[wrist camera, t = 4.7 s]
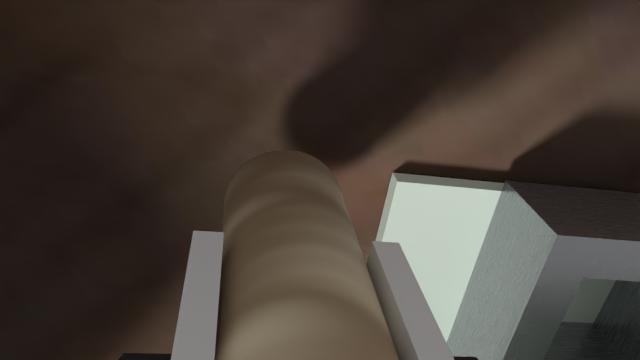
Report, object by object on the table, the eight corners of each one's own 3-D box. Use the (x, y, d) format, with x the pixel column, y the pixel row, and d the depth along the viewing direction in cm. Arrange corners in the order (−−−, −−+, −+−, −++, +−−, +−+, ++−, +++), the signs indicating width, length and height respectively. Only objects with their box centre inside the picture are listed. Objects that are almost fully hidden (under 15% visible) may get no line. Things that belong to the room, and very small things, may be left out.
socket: (446, 343, 24) (478, 415, 21) (505, 180, 20) (557, 235, 17) (609, 349, 26) (665, 417, 22) (694, 198, 22) (778, 252, 18)
